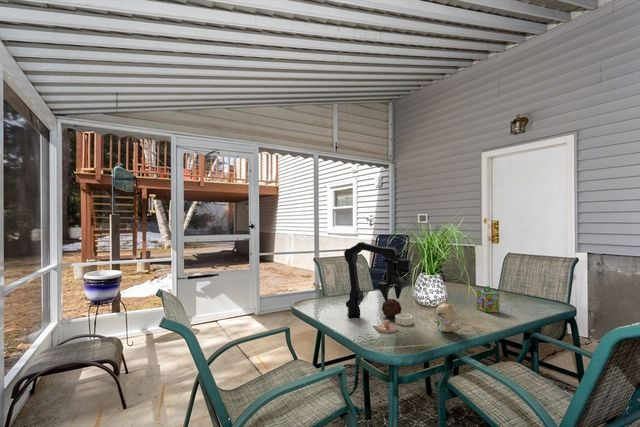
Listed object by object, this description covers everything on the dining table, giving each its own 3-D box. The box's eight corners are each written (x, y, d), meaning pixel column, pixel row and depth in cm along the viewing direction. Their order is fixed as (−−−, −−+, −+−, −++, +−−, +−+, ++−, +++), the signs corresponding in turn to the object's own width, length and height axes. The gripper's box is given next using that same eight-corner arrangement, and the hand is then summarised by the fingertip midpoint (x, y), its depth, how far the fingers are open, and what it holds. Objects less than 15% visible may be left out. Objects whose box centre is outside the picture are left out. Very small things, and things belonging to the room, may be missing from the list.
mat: (379, 335, 152) (379, 334, 152) (372, 327, 164) (372, 326, 164) (403, 334, 154) (403, 332, 154) (393, 325, 166) (393, 324, 166)
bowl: (399, 326, 165) (399, 319, 165) (392, 321, 173) (392, 313, 174) (415, 325, 166) (415, 318, 166) (408, 320, 175) (408, 313, 175)
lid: (380, 333, 153) (380, 324, 153) (373, 326, 163) (373, 318, 163) (400, 332, 155) (400, 323, 155) (392, 325, 165) (392, 316, 165)
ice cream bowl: (403, 316, 185) (401, 319, 171) (384, 316, 188) (381, 319, 174) (401, 297, 187) (400, 299, 173) (382, 297, 190) (380, 299, 176)
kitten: (429, 326, 165) (429, 297, 166) (447, 325, 166) (447, 297, 166) (442, 336, 150) (442, 305, 151) (462, 336, 151) (462, 305, 151)
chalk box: (486, 313, 187) (486, 288, 188) (476, 309, 196) (476, 285, 197) (500, 312, 189) (499, 287, 189) (489, 308, 198) (488, 284, 198)
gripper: (392, 275, 157) (392, 306, 157) (415, 271, 168) (415, 300, 168) (375, 272, 166) (376, 301, 166) (398, 268, 177) (398, 296, 177)
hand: (392, 300), depth 169 cm, fingers open, 9 cm apart
